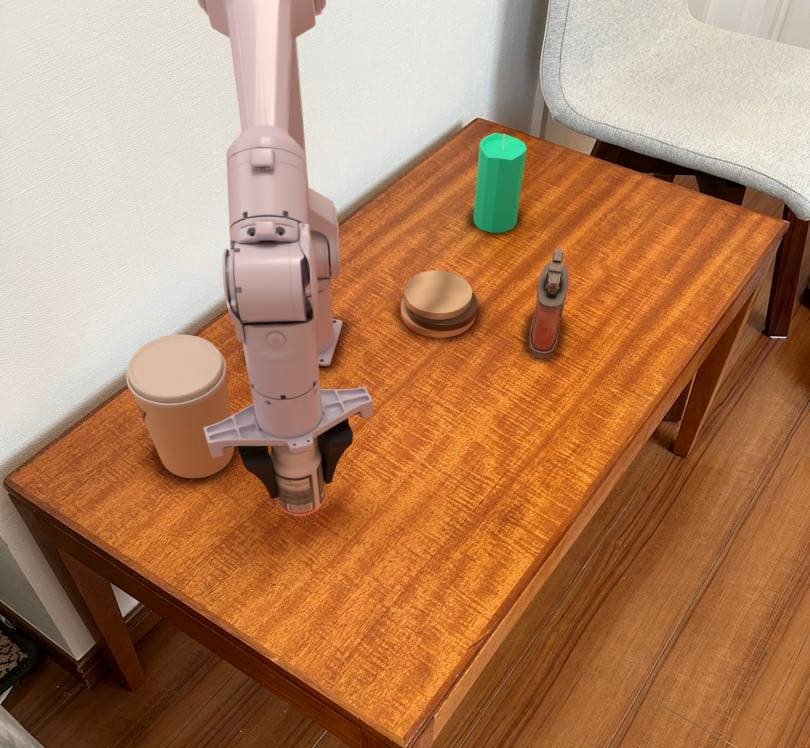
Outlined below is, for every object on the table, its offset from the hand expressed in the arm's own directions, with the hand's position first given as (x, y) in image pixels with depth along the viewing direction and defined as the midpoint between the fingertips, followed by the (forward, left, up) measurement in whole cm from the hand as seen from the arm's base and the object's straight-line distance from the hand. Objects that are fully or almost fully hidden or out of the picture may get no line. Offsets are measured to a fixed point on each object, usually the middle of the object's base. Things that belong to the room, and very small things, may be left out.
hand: (298, 483), depth 80 cm
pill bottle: (0, 0, -2) cm, 2 cm away
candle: (+14, +55, -6) cm, 57 cm away
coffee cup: (-13, +7, -6) cm, 16 cm away
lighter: (+22, +32, -6) cm, 39 cm away
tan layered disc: (+9, +34, -5) cm, 36 cm away
